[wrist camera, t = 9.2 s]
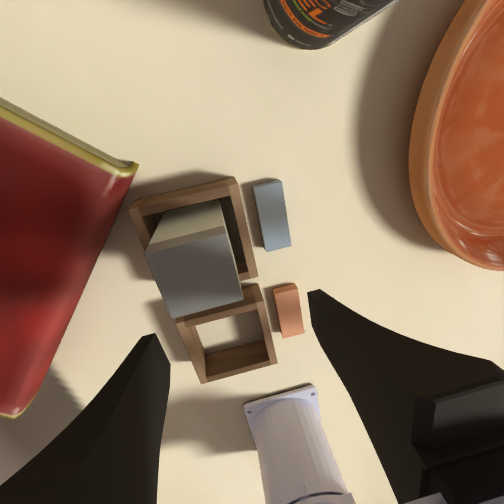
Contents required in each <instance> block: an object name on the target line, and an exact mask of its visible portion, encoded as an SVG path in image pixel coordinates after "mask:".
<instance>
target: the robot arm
mask: <svg viewBox="0 0 504 504" xmlns="http://www.w3.org/2000/svg"><path fill="white" fill-rule="evenodd" d="M307 295H308V302H309V309H310V316H311V323H312V327H313V330H314V332H315V334H316V336H317V339H318V341H319V343H320V345H321V347H322V349H323V350H324V352H325V354H326V355H327V357H328V359H329V361H330V362H331V364H332V366H333V367H334V369H335V371H336V372H337V374H338V376H339V377H340V379H341V381H342V382H343V384H344V386H345V387H346V389H347V391H348V393H349V395H350V397H351V399H352V401H353V403H354V405H355V407H356V409H357V411H358V413H359V416H360V418H361V420H362V422H363V424H364V426H365V429H366V431H367V433H368V435H369V437H370V439H371V442H372V444H373V446H374V448H375V451H376V453H377V455H378V457H379V460H380V462H381V464H382V466H383V469H384V471H385V473H386V476H387V478H388V480H389V483H390V485H391V487H392V490H393V492H394V494H395V497H396V499H397V501H398V504H504V370H502V369H501V368H500V367H499V366H497V365H496V364H495V363H493V362H492V361H490V360H486V359H482V358H477V357H473V356H469V355H464V354H460V353H456V352H452V351H449V350H445V349H442V348H438V347H435V346H432V345H429V344H426V343H422V342H420V341H417V340H414V339H411V338H409V337H406V336H403V335H401V334H398V333H396V332H394V331H391V330H389V329H387V328H385V327H382V326H380V325H378V324H376V323H374V322H372V321H370V320H368V319H367V318H365V317H363V316H361V315H359V314H358V313H356V312H354V311H353V310H351V309H349V308H348V307H346V306H345V305H343V304H341V303H340V302H338V301H337V300H335V299H334V298H332V297H331V296H329V295H328V294H326V293H325V292H324V291H322V290H320V289H318V290H314V291H310V292H307ZM169 388H170V362H169V360H168V358H167V356H166V354H165V352H164V350H163V348H162V346H161V344H160V342H159V340H158V338H157V335H156V333H153V334H149V335H146V336H142V337H141V338H140V340H139V341H138V342H137V344H136V345H135V346H134V348H133V349H132V350H131V352H130V353H129V354H128V356H127V357H126V358H125V360H124V361H123V362H122V364H121V365H120V366H119V368H118V369H117V370H116V372H115V373H114V374H113V376H112V377H111V378H110V379H109V380H108V382H107V383H106V384H105V385H104V386H103V388H102V389H101V390H100V391H99V393H98V394H97V395H96V396H95V397H94V399H93V400H92V401H91V402H90V403H89V404H88V405H87V406H86V407H85V409H84V410H83V411H82V412H81V413H80V414H79V415H78V416H77V417H76V418H75V419H74V420H73V421H72V422H71V423H70V425H68V426H67V427H66V428H65V429H64V430H63V431H62V432H61V433H60V434H59V435H58V436H57V437H56V438H55V439H54V440H53V441H52V442H51V443H49V444H48V445H47V446H46V447H45V448H44V449H43V450H42V451H41V452H40V453H39V454H38V455H36V456H35V457H34V458H33V459H32V460H31V461H29V462H28V463H27V464H26V465H25V466H24V467H22V468H21V469H20V470H19V471H18V472H16V473H15V474H14V475H13V476H12V477H10V478H9V479H8V480H7V481H6V482H4V483H3V484H2V485H1V486H0V504H157V484H158V468H159V454H160V445H161V437H162V431H163V425H164V419H165V413H166V407H167V401H168V395H169ZM244 412H245V415H246V418H247V421H248V424H249V427H250V429H251V432H252V435H253V438H254V441H255V444H256V447H257V451H258V457H259V463H260V470H261V476H262V482H263V489H264V495H265V501H266V504H356V503H355V501H354V498H353V496H352V493H348V491H347V488H346V486H345V483H344V480H343V478H342V475H341V473H340V470H339V468H338V465H337V462H336V460H335V457H334V455H333V452H332V450H331V447H330V444H329V442H328V439H327V437H326V434H325V432H324V429H323V427H322V424H321V417H320V409H319V402H318V395H317V389H316V387H315V386H314V385H310V386H306V387H302V388H299V389H295V390H292V391H288V392H285V393H281V394H277V395H274V396H270V397H267V398H263V399H260V400H256V401H253V402H249V403H246V404H245V405H244Z"/></svg>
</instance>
